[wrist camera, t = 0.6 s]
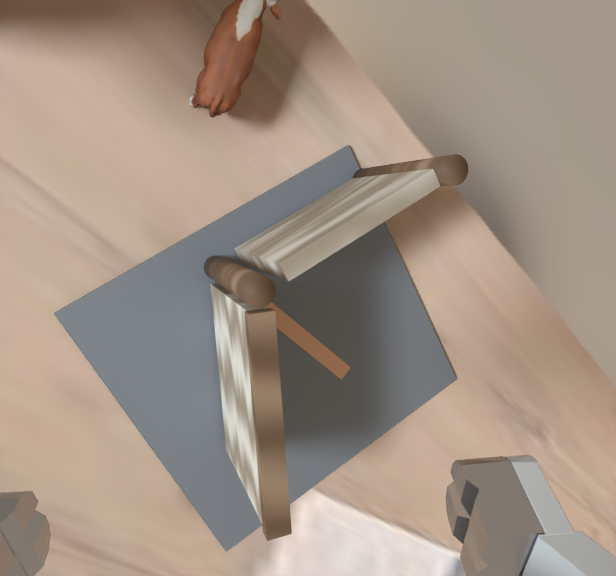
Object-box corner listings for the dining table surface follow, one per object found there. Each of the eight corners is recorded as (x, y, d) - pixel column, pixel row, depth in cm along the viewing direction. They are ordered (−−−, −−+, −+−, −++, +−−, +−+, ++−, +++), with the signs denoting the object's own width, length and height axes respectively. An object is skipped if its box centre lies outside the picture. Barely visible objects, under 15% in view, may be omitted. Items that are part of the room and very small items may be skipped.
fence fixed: (198, 262, 52) (237, 286, 37) (364, 165, 57) (461, 149, 42) (210, 283, 53) (253, 314, 37) (373, 184, 58) (472, 176, 42)
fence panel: (208, 283, 52) (248, 314, 37) (228, 281, 53) (275, 310, 38) (224, 450, 55) (267, 540, 40) (242, 446, 56) (291, 533, 41)
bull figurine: (273, 12, 51) (301, -22, 44) (214, 133, 51) (232, 120, 44) (234, -16, 50) (257, -56, 42) (173, 109, 49) (184, 91, 42)
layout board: (54, 312, 48) (53, 313, 48) (347, 145, 56) (349, 145, 56) (225, 549, 58) (226, 552, 57) (454, 378, 66) (457, 379, 65)
